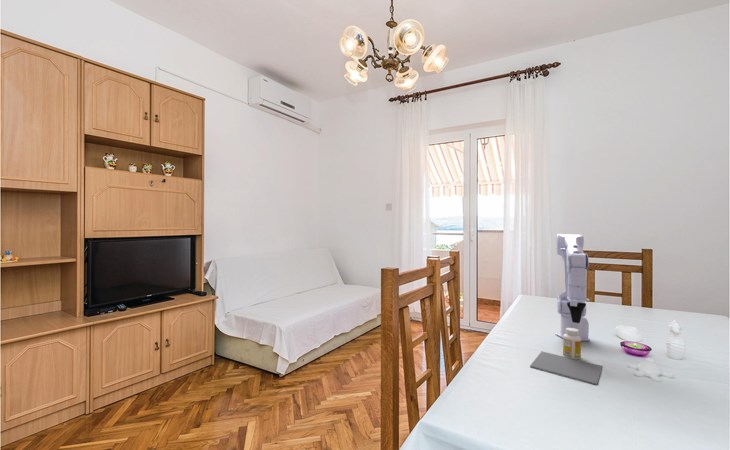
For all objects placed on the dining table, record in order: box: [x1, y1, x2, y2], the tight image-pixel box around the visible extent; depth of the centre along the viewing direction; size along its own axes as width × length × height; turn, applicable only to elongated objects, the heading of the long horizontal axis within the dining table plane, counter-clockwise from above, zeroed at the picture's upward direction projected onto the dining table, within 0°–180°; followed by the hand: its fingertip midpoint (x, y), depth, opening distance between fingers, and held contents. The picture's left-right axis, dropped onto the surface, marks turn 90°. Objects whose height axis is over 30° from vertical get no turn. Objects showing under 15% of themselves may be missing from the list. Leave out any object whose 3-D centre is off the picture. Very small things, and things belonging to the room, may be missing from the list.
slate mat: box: [529, 350, 603, 386], centre depth 109 cm, size 16×18×1 cm
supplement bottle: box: [562, 328, 582, 360], centre depth 117 cm, size 5×5×10 cm
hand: (576, 322), depth 123 cm, fingers closed
